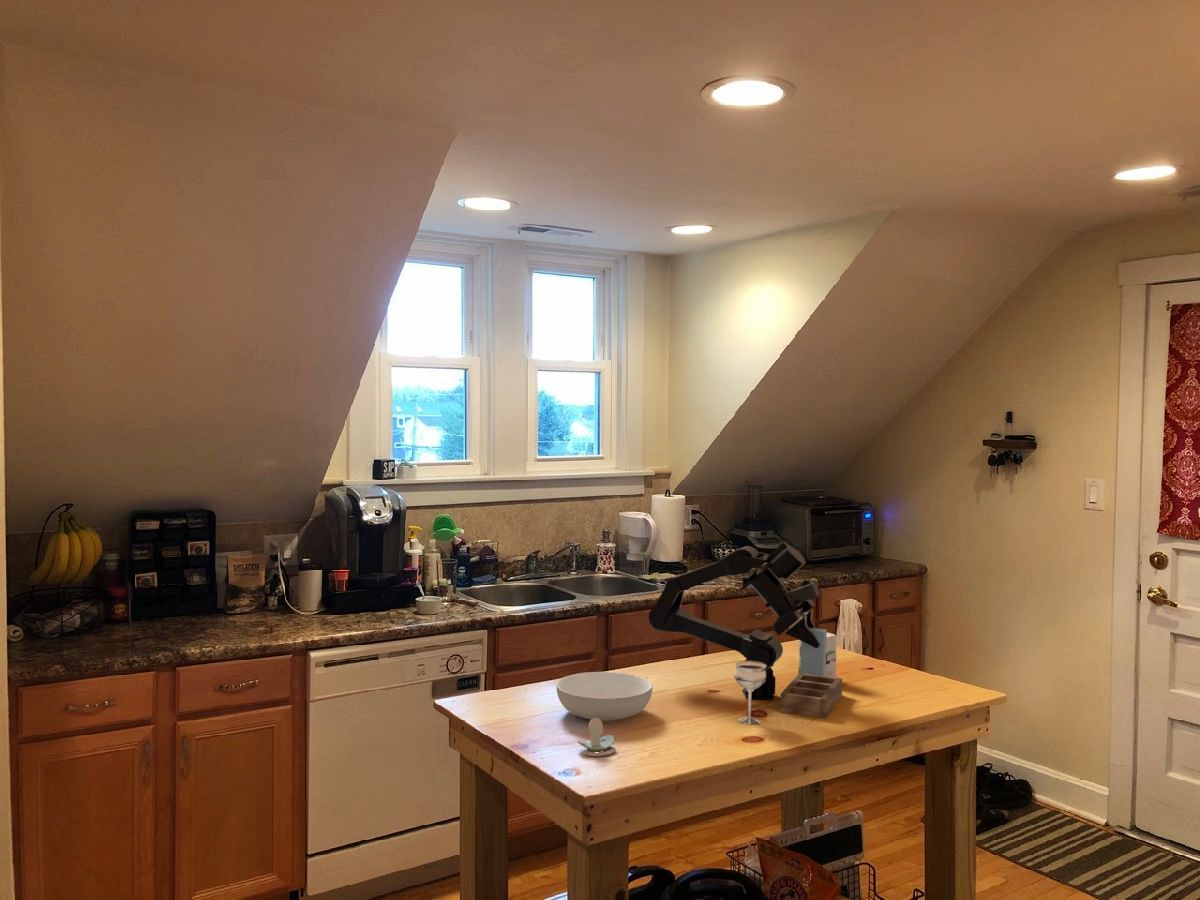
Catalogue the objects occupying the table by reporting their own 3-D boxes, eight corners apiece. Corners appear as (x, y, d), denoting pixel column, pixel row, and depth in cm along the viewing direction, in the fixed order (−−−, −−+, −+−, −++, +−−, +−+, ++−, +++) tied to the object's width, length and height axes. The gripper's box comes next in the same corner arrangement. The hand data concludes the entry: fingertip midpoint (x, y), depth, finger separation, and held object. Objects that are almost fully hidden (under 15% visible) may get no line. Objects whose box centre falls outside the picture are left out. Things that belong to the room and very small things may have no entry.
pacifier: (622, 754, 178) (606, 744, 183) (623, 722, 177) (607, 712, 182) (588, 761, 174) (573, 750, 179) (589, 728, 174) (574, 718, 179)
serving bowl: (661, 705, 208) (661, 674, 208) (639, 735, 188) (640, 702, 187) (572, 696, 213) (572, 666, 213) (542, 725, 193) (542, 692, 193)
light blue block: (800, 673, 210) (801, 629, 210) (803, 670, 213) (804, 626, 212) (822, 676, 208) (824, 632, 207) (825, 673, 211) (826, 629, 210)
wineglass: (754, 728, 193) (756, 671, 193) (727, 721, 197) (728, 665, 197) (771, 720, 198) (772, 664, 198) (744, 713, 203) (745, 659, 202)
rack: (780, 711, 204) (780, 693, 204) (799, 689, 221) (799, 672, 221) (825, 718, 200) (826, 700, 200) (841, 695, 217) (842, 678, 217)
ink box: (797, 676, 232) (798, 630, 232) (811, 674, 235) (812, 628, 234) (822, 685, 225) (823, 637, 224) (836, 682, 228) (837, 635, 227)
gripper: (789, 575, 203) (838, 631, 198) (807, 563, 219) (853, 615, 215) (752, 607, 206) (800, 663, 202) (773, 593, 223) (818, 644, 219)
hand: (819, 645), depth 209 cm, fingers closed on light blue block, 3 cm apart
